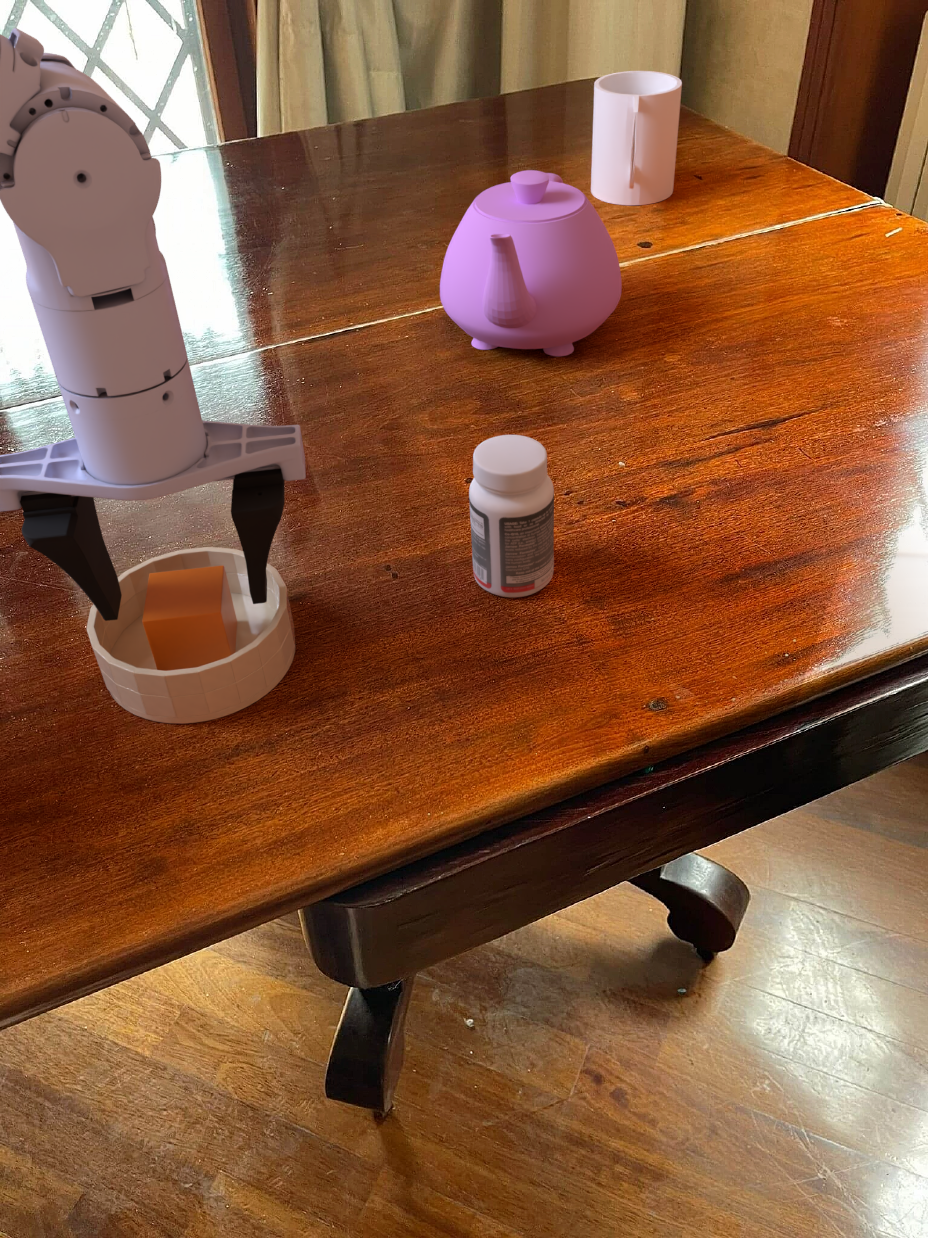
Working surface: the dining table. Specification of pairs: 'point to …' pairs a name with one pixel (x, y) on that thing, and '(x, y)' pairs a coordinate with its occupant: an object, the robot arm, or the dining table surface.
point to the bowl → (203, 688)
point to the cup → (635, 137)
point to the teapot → (530, 267)
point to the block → (189, 617)
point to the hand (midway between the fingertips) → (187, 599)
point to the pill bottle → (511, 516)
